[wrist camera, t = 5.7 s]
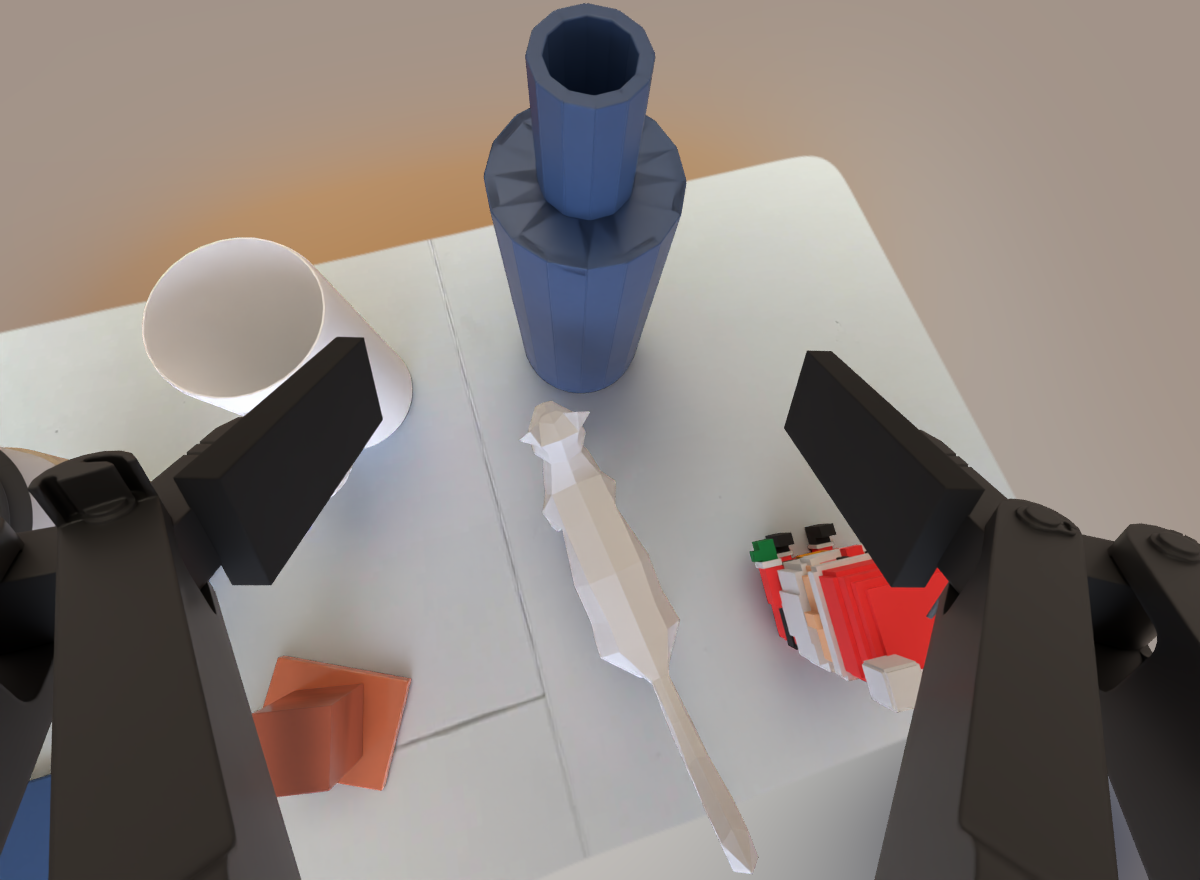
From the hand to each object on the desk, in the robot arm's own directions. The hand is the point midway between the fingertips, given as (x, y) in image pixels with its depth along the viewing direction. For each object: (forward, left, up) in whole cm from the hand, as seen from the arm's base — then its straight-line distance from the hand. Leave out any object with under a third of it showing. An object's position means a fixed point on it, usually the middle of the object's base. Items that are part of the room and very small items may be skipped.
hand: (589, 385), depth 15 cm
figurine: (+16, -5, -19) cm, 25 cm away
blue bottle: (-2, +9, -19) cm, 21 cm away
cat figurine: (+3, -7, -19) cm, 20 cm away
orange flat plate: (-12, -18, -19) cm, 28 cm away
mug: (-16, 0, -19) cm, 25 cm away
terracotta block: (-12, -18, -18) cm, 28 cm away
